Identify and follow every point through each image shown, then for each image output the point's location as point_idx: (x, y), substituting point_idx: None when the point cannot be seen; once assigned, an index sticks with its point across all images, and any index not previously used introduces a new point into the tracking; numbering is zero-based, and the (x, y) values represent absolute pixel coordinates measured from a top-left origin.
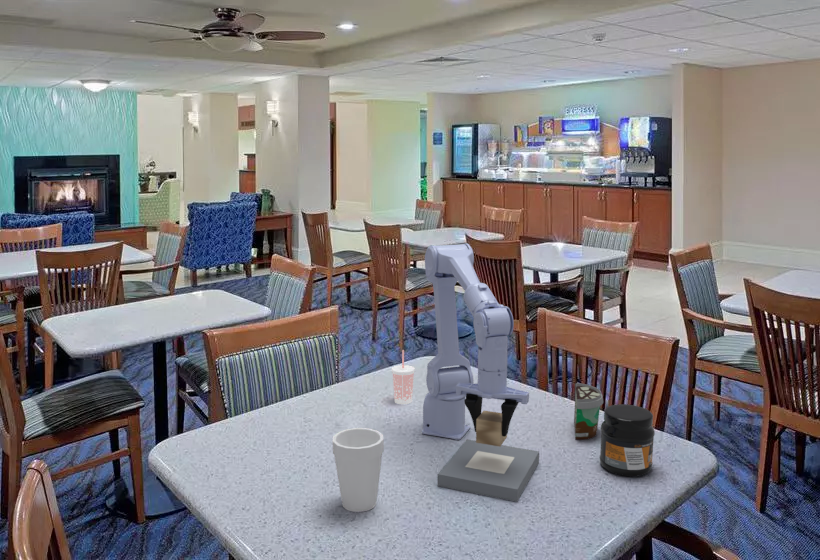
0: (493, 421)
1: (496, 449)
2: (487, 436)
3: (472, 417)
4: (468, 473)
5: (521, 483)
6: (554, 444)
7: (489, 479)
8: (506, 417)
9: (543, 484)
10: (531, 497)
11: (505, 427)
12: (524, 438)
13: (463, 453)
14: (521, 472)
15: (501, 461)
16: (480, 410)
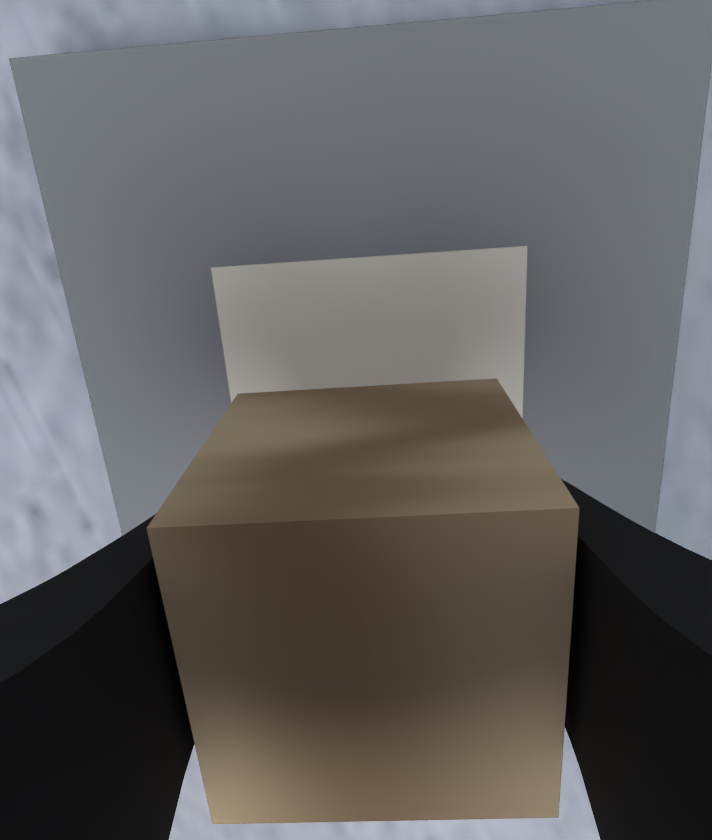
0: (270, 524)
1: None
2: (371, 414)
3: (661, 542)
4: (465, 144)
5: (47, 198)
6: (193, 815)
7: (272, 121)
8: (13, 617)
9: (37, 391)
10: (16, 191)
11: (131, 534)
12: (353, 822)
13: (605, 454)
14: (116, 352)
15: None
16: (593, 766)
